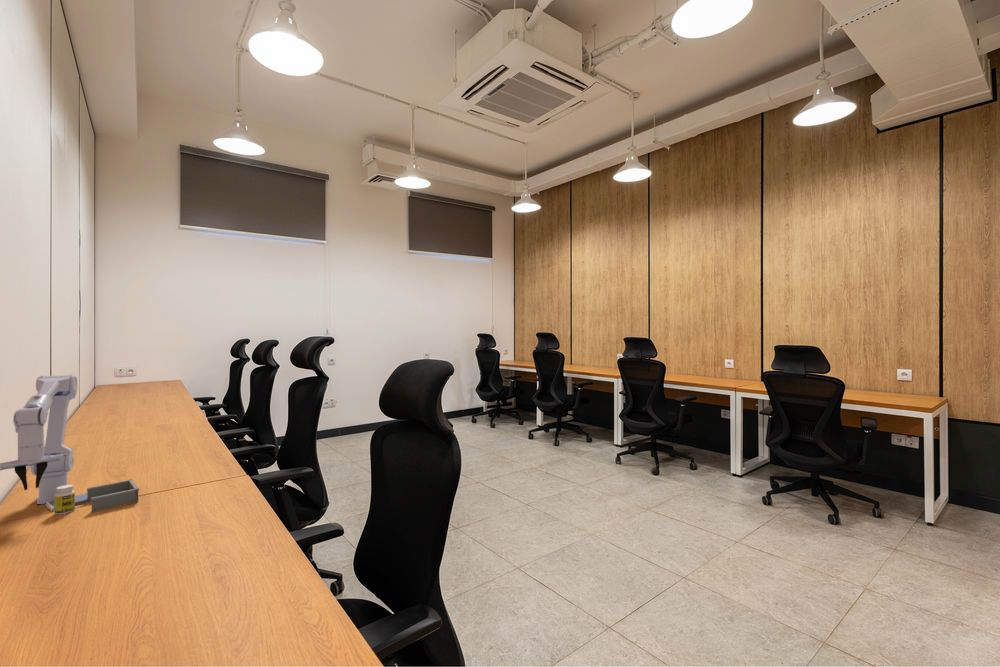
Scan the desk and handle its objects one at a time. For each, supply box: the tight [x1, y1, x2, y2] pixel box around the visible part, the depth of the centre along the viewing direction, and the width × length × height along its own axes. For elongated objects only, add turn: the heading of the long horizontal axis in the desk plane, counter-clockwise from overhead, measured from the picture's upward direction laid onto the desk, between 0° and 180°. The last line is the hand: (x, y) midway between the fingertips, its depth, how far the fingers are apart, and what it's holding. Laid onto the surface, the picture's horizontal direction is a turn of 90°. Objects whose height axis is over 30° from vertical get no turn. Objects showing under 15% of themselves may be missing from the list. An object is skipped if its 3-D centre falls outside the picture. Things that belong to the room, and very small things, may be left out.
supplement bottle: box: [54, 484, 76, 515], centre depth 146 cm, size 5×5×8 cm
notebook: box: [45, 493, 91, 511], centre depth 154 cm, size 8×11×1 cm
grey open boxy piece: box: [86, 478, 140, 513], centre depth 155 cm, size 14×12×5 cm
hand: (31, 488), depth 141 cm, fingers closed
